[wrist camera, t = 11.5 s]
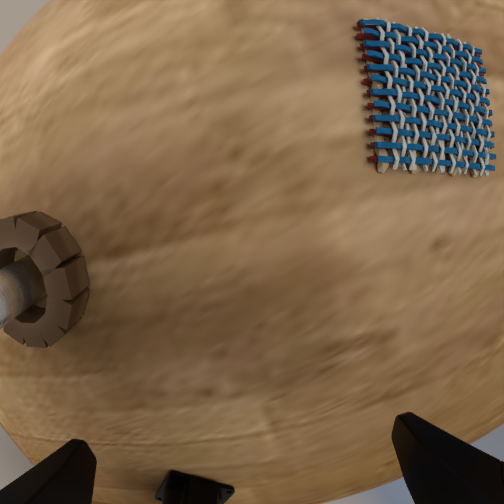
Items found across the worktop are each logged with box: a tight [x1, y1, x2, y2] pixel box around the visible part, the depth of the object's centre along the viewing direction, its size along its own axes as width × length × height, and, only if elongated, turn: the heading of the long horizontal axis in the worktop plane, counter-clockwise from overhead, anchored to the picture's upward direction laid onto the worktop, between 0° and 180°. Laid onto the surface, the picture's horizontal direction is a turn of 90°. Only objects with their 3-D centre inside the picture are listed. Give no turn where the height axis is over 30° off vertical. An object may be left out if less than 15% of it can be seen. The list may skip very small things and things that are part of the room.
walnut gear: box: [0, 211, 90, 348], centre depth 17 cm, size 9×9×3 cm
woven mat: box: [357, 18, 496, 177], centre depth 16 cm, size 10×11×2 cm
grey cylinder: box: [0, 255, 47, 329], centre depth 14 cm, size 3×3×8 cm
